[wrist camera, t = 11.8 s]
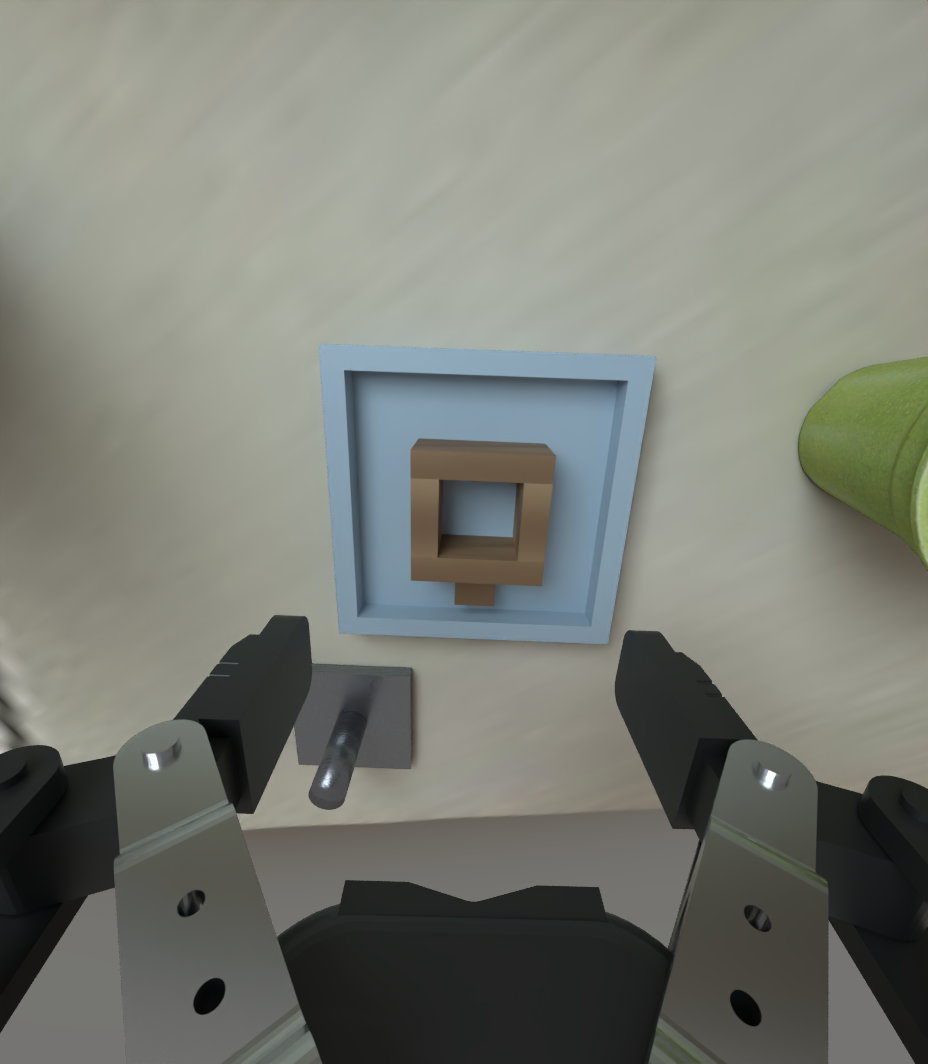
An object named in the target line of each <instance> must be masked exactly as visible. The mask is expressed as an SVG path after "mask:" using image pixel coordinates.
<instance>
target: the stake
mask: <svg viewBox="0 0 928 1064" xmlns="http://www.w3.org/2000/svg"><path fill="white" fill-rule="evenodd" d="M294 728H295V737H296V745H297V753H298V762H299V764H301V765H319V767H318V770H317V772H316V775H315V778H314V780H313V783H312V786H311V788H310V791H309V799H310V801H311V802H312V803H313V804H314V805H315V806H317V807H319V808H322V809H326V810H332V809H336V808H338V807H340V806H341V805H342V804H343V803H344V800H345V797H346V794H347V790H348V787H349V783H350V780H351V777H352V773H353V770H354V767H370V768H393V769H411V762H412V683H411V668H400V667H376V666H351V665H327V664H312V680H311V686H310V690H309V693H308V695H307V698H306V700H305V702H304V704H303V706H302V709H301V711H300V713H299V715H298V717H297V720H296V722H295V724H294Z"/></svg>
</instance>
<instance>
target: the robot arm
mask: <svg viewBox="0 0 928 1064" xmlns="http://www.w3.org/2000/svg"><path fill="white" fill-rule="evenodd" d="M311 680H312V659H311V647H310V634H309V623H308V619H307V617H305V616H284V615H275V616H273V617H272V618H271V620H270V621H269V622H268V624H267V625H266V626H265V628H264V629H263V631H262V632H261V633H260V635H248V636H247V637H245V638H244V639H242V640H241V641H239V642H238V643H236V644H235V645H233V646H232V647H231V648H230V649H229V650H228V651H227V653H226V654H225V655H224V656H223V658H222V659H221V660H220V663H219V664H217V665H216V667H215V668H214V669H213V670H212V672H211V673H210V676H209V677H207V678H206V679H205V680H204V682H203V683H202V684H201V685H200V687H199V688H198V689H197V690H196V692H195V693H194V694H193V695H192V697H191V698H190V699H189V700H188V702H187V703H186V704H185V705H184V707H183V708H182V709H181V710H180V712H179V713H178V714H177V716H176V717H175V718H174V719H173V720H171V721H166V722H163V723H159V724H156V725H154V726H151V727H149V728H147V729H145V730H143V731H141V732H140V733H138V734H137V735H135V736H134V737H132V738H131V739H130V740H128V741H127V742H126V743H125V744H124V745H123V746H122V748H121V749H120V750H119V751H118V753H117V755H115V756H111V757H107V758H102V759H97V760H92V761H87V762H82V763H77V764H72V765H67V766H63V763H62V760H61V757H60V754H59V752H58V751H57V750H56V749H54V748H52V747H50V746H44V745H34V746H26V747H21V748H17V749H13V750H10V751H7V752H5V753H2V754H0V1032H1V1031H2V1029H3V1028H4V1026H5V1024H6V1023H7V1021H8V1020H9V1019H10V1017H11V1015H12V1014H13V1012H14V1011H15V1009H16V1008H17V1006H18V1004H19V1003H20V1001H21V1000H22V998H23V996H24V995H25V993H26V992H27V990H28V989H29V987H30V986H31V984H32V982H33V981H34V979H35V978H36V976H37V975H38V973H39V971H40V970H41V968H42V967H43V965H44V963H45V962H46V960H47V959H48V957H49V956H50V954H51V953H52V951H53V949H54V948H55V946H56V945H57V943H58V942H59V940H60V938H61V937H62V935H63V934H64V932H65V930H66V929H67V927H68V926H69V924H70V923H71V921H72V920H73V918H74V916H75V915H76V913H77V912H78V910H79V909H80V907H81V905H82V904H83V902H84V901H85V899H86V898H87V896H88V895H90V894H94V893H97V892H100V891H104V890H107V889H110V888H115V897H116V911H117V928H118V943H119V958H120V975H121V989H122V1005H123V1020H124V1037H125V1052H126V1064H828V920H829V921H830V923H831V924H832V926H833V928H834V930H835V931H836V933H837V934H838V936H839V938H840V939H841V941H842V943H843V944H844V946H845V948H846V949H847V951H848V953H849V954H850V956H851V958H852V959H853V961H854V963H855V964H856V966H857V968H858V969H859V971H860V973H861V974H862V976H863V978H864V979H865V981H866V983H867V984H868V986H869V987H870V989H871V991H872V993H873V994H874V996H875V998H876V999H877V1001H878V1003H879V1004H880V1006H881V1008H882V1009H883V1011H884V1013H885V1014H886V1016H887V1018H888V1019H889V1021H890V1023H891V1024H892V1026H893V1027H894V1029H895V1031H896V1033H897V1034H898V1036H899V1037H900V1039H901V1041H902V1043H903V1044H904V1046H905V1047H906V1049H907V1050H908V1052H909V1054H910V1056H911V1057H912V1059H913V1061H914V1062H915V1064H928V789H927V788H925V787H923V786H921V785H918V784H916V783H914V782H911V781H908V780H905V779H902V778H898V777H893V776H876V777H874V778H872V779H871V780H870V781H869V783H868V785H867V787H866V789H865V791H864V793H863V794H860V793H857V792H853V791H850V790H846V789H842V788H839V787H835V786H832V785H828V784H824V783H821V782H818V781H815V779H814V777H813V775H812V774H811V773H810V771H809V770H808V769H807V768H806V767H805V766H804V765H803V764H802V763H801V762H800V761H799V760H797V759H796V758H795V757H793V756H792V755H790V754H789V753H787V752H786V751H784V750H782V749H780V748H778V747H776V746H774V745H771V744H768V743H765V742H762V741H758V740H757V739H756V737H755V736H754V735H753V734H752V732H751V731H750V730H749V728H748V727H747V726H746V725H745V723H744V722H743V721H742V719H741V718H740V717H739V715H738V714H737V713H736V712H735V710H734V709H733V708H732V706H731V705H730V704H729V703H728V701H727V700H726V699H725V697H722V694H721V692H720V691H719V690H718V688H717V687H716V686H715V684H712V681H711V679H710V678H709V677H708V675H707V674H706V673H705V672H704V670H703V669H702V668H701V666H700V665H698V664H697V663H695V662H694V661H693V660H691V659H690V658H689V657H687V656H686V655H684V654H683V653H682V652H675V651H674V650H673V649H672V647H671V646H670V644H669V643H668V642H667V640H666V639H665V638H664V636H663V635H662V634H661V633H660V632H658V631H634V630H629V631H627V632H626V634H625V636H624V640H623V645H622V650H621V655H620V660H619V665H618V670H617V675H616V680H615V697H616V702H617V705H618V708H619V710H620V712H621V715H622V717H623V719H624V721H625V724H626V726H627V728H628V730H629V733H630V735H631V737H632V739H633V741H634V744H635V746H636V748H637V750H638V753H639V755H640V757H641V759H642V762H643V764H644V766H645V768H646V770H647V773H648V775H649V777H650V779H651V782H652V784H653V786H654V788H655V791H656V793H657V795H658V797H659V799H660V802H661V804H662V806H663V808H664V810H665V813H666V815H667V817H668V819H669V822H670V824H671V826H672V828H673V829H695V831H696V833H697V836H698V838H699V842H698V845H697V848H696V851H695V855H694V859H693V862H692V865H691V869H690V873H689V876H688V880H687V883H686V887H685V890H684V894H683V897H682V901H681V904H680V908H679V911H678V915H677V918H676V922H675V926H674V929H673V932H672V936H671V939H670V943H669V946H668V949H667V948H666V947H665V946H664V945H663V944H662V943H660V942H659V941H658V940H656V939H655V938H654V937H652V936H651V935H650V934H648V933H647V932H646V931H644V930H642V929H641V928H639V927H637V926H635V925H634V924H632V923H631V922H629V921H626V920H624V919H622V918H620V917H618V916H616V915H613V914H610V913H607V912H605V909H604V906H603V902H602V898H601V894H600V890H599V887H569V886H534V887H530V888H526V889H523V890H519V891H516V892H512V893H508V894H504V895H501V896H497V897H493V898H490V899H486V900H482V901H478V902H470V901H466V900H463V899H460V898H456V897H453V896H450V895H447V894H444V893H441V892H438V891H434V890H431V889H428V888H425V887H422V886H419V885H416V884H413V883H410V882H389V881H353V880H352V881H351V880H346V881H345V885H344V890H343V894H342V898H341V903H340V904H338V905H335V906H331V907H328V908H326V909H323V910H321V911H318V912H316V913H314V914H312V915H310V916H308V917H306V918H304V919H302V920H301V921H299V922H297V923H296V924H294V925H293V926H291V927H290V928H289V929H287V930H286V931H284V932H283V933H281V934H280V935H279V936H278V937H277V936H276V933H275V930H274V927H273V924H272V921H271V918H270V915H269V912H268V908H267V905H266V903H265V899H264V896H263V893H262V890H261V888H260V884H259V881H258V878H257V875H256V872H255V869H254V866H253V863H252V860H251V857H250V854H249V851H248V848H247V845H246V842H245V839H244V835H243V833H242V829H241V826H240V823H239V820H238V817H237V814H236V813H243V814H254V812H255V809H256V807H257V805H258V803H259V801H260V798H261V796H262V794H263V792H264V790H265V788H266V785H267V783H268V781H269V779H270V777H271V774H272V772H273V770H274V768H275V766H276V763H277V761H278V759H279V757H280V755H281V752H282V750H283V748H284V746H285V744H286V741H287V739H288V737H289V735H290V733H291V730H292V728H293V726H294V724H295V722H296V720H297V717H298V715H299V713H300V711H301V709H302V706H303V704H304V702H305V700H306V698H307V695H308V693H309V690H310V686H311Z"/></svg>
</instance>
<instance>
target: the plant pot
mask: <svg viewBox="0 0 928 1064" xmlns="http://www.w3.org/2000/svg"><path fill="white" fill-rule="evenodd" d="M799 456H800V461H801V464H802V467H803V469H804V471H805V472H806V474H807V475H808V476H809V477H810V478H811V479H812V481H813V482H814V483H815V484H816V485H818V486H819V487H820V488H821V489H823V490H824V491H826V492H828V493H829V494H831V495H832V496H834V497H836V498H837V499H839V500H841V501H842V502H844V503H846V504H847V505H849V506H851V507H852V508H854V509H856V510H857V511H859V512H860V513H862V514H864V515H865V516H867V517H868V518H870V519H872V520H873V521H875V522H876V523H878V524H880V525H881V526H883V527H884V528H886V529H888V530H889V531H891V532H892V533H894V534H895V535H897V536H899V537H900V538H902V539H903V540H904V541H905V542H906V543H907V545H908V546H909V547H910V548H911V549H912V550H913V551H914V552H915V553H916V554H917V555H918V556H919V557H920V559H921V561H922V563H923V565H924V566H925V567H926V569H927V570H928V357H923V358H917V359H909V360H903V361H896V362H890V363H885V364H877V365H872V366H869V367H865V368H862V369H859V370H857V371H854V372H852V373H850V374H848V375H846V376H845V377H843V378H841V379H840V380H839V381H838V382H837V383H836V384H835V386H834V387H833V388H832V389H831V390H830V391H829V392H828V393H827V394H826V395H824V396H823V397H822V398H821V399H820V400H819V401H818V402H817V403H816V404H815V405H814V406H813V407H812V408H811V410H810V411H809V413H808V415H807V417H806V419H805V421H804V424H803V426H802V429H801V433H800V438H799Z"/></svg>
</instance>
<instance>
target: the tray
mask: <svg viewBox="0 0 928 1064" xmlns="http://www.w3.org/2000/svg"><path fill="white" fill-rule="evenodd" d="M319 356H320V370H321V384H322V398H323V412H324V426H325V440H326V455H327V469H328V483H329V497H330V511H331V525H332V539H333V554H334V568H335V582H336V596H337V610H338V624H339V633H343V634H368V635H392V636H416V637H441V638H465V639H490V640H514V641H538V642H563V643H587V644H608V641H609V635H610V629H611V623H612V617H613V611H614V605H615V599H616V593H617V587H618V581H619V575H620V570H621V564H622V558H623V552H624V546H625V540H626V534H627V528H628V522H629V516H630V510H631V504H632V498H633V492H634V486H635V481H636V475H637V469H638V463H639V457H640V451H641V445H642V439H643V433H644V427H645V421H646V415H647V409H648V403H649V397H650V391H651V386H652V380H653V374H654V368H655V362H656V356H640V355H613V354H585V353H558V352H530V351H502V350H475V349H447V348H420V347H392V346H364V345H337V344H319ZM419 438H423V439H447V440H471V441H495V442H519V443H544V444H546V445H547V446H548V447H549V448H550V450H551V451H552V452H553V453H554V454H555V455H556V460H555V470H554V479H553V488H552V497H551V507H550V516H549V525H548V534H547V543H546V553H545V562H544V571H543V580H542V586H521V585H498V584H496V587H495V601H494V606H471V605H454V603H455V583H452V582H429V581H411V465H410V450H411V448H412V447H413V446H414V444H415V443H416V441H417V440H418V439H419ZM516 487H517V483H509V482H485V481H462V480H443V505H442V534H450V535H474V536H497V537H513V524H514V512H515V499H516Z"/></svg>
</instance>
